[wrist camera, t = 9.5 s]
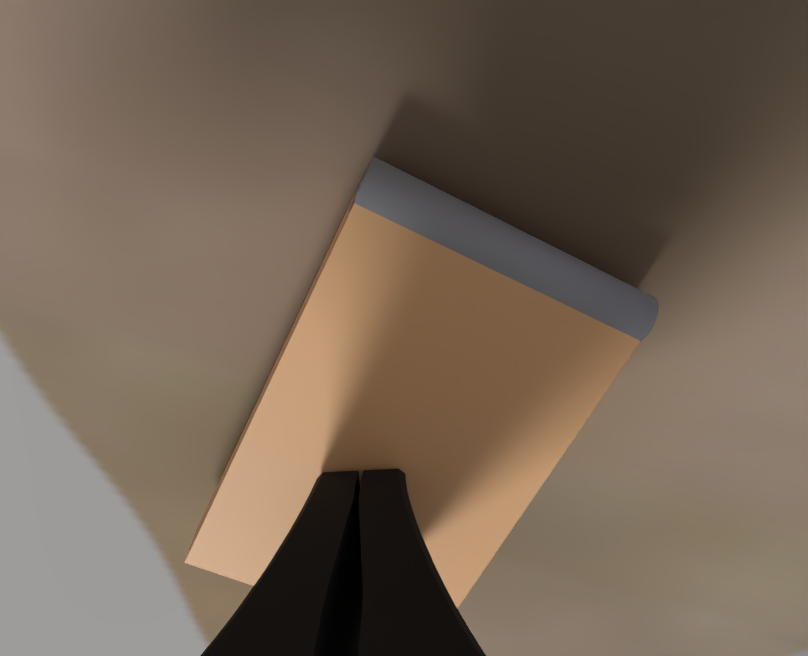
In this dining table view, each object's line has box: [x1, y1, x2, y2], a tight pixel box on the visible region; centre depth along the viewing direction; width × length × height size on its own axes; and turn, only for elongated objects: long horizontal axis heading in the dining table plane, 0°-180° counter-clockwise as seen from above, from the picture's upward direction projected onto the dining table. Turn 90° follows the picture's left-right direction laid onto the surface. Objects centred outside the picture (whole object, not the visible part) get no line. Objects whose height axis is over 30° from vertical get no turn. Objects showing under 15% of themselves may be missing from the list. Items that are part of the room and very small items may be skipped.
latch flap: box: [185, 157, 658, 608], centre depth 11 cm, size 5×8×1 cm, turn 153°
